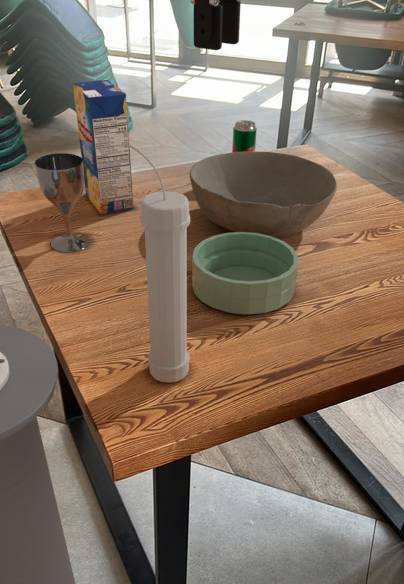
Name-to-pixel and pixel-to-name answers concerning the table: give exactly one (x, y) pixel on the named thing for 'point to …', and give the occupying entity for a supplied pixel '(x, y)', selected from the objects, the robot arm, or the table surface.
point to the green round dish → (244, 272)
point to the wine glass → (63, 193)
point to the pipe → (166, 281)
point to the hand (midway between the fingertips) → (216, 43)
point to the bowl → (262, 191)
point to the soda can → (244, 136)
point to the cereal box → (104, 144)
